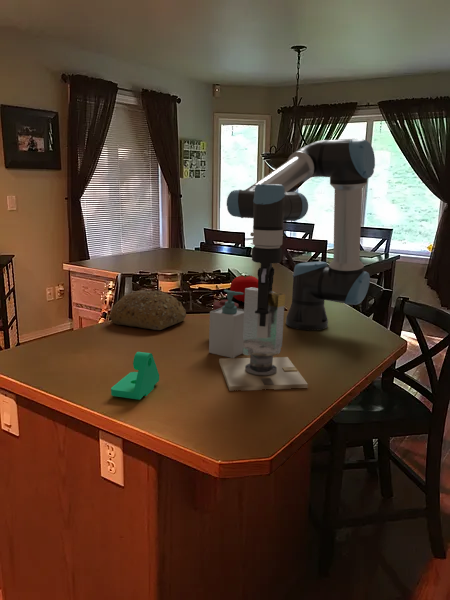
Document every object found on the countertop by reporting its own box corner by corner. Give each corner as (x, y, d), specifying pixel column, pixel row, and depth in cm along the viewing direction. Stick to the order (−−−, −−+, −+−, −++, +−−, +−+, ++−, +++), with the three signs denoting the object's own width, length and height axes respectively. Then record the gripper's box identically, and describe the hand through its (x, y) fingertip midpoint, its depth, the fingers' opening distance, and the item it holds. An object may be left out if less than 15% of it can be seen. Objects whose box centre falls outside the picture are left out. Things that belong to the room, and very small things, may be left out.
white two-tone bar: (261, 340, 142) (264, 284, 139) (293, 349, 135) (297, 291, 131) (229, 350, 133) (231, 291, 129) (262, 361, 125) (265, 298, 122)
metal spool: (272, 364, 140) (273, 345, 139) (279, 375, 132) (280, 356, 130) (242, 365, 139) (243, 346, 137) (248, 376, 131) (249, 356, 129)
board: (287, 360, 146) (287, 356, 146) (307, 388, 127) (307, 382, 127) (219, 362, 144) (219, 357, 143) (229, 390, 124) (229, 385, 124)
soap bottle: (233, 358, 147) (235, 295, 143) (208, 352, 152) (209, 291, 147) (248, 351, 154) (250, 290, 150) (223, 345, 159) (225, 286, 154)
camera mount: (131, 381, 129) (130, 342, 127) (159, 384, 128) (159, 346, 125) (109, 399, 118) (108, 358, 116) (139, 404, 116) (139, 362, 114)
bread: (103, 326, 177) (102, 292, 174) (136, 312, 196) (135, 282, 193) (164, 335, 168) (164, 300, 165) (192, 320, 187) (192, 288, 184)
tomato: (261, 305, 213) (263, 277, 210) (229, 304, 213) (230, 276, 210) (260, 298, 225) (261, 272, 222) (229, 297, 225) (230, 271, 222)
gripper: (257, 241, 137) (254, 324, 142) (247, 250, 119) (244, 343, 125) (284, 243, 135) (280, 326, 141) (278, 251, 118) (274, 345, 123)
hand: (263, 334), depth 133 cm, fingers closed on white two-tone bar, 5 cm apart
